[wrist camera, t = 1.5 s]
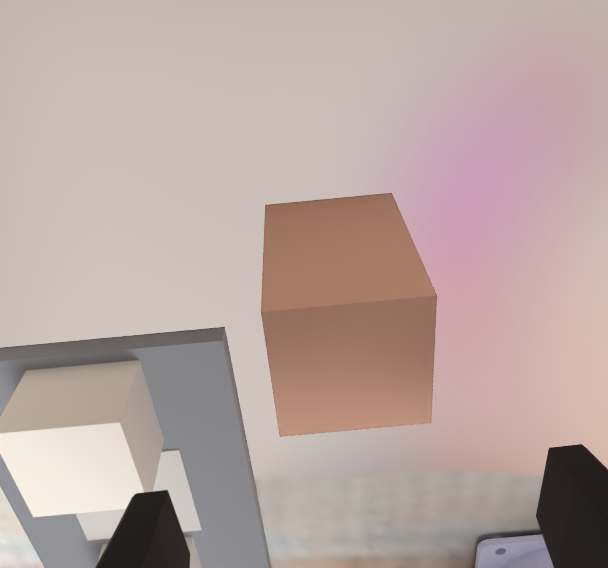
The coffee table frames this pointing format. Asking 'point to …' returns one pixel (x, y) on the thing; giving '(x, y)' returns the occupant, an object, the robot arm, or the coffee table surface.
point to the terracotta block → (346, 316)
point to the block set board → (184, 423)
